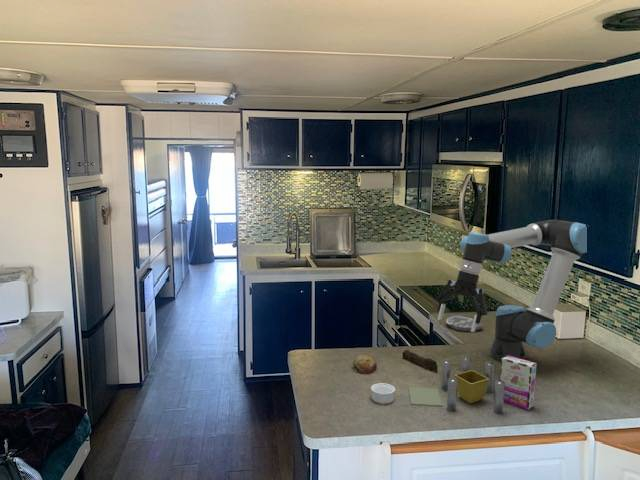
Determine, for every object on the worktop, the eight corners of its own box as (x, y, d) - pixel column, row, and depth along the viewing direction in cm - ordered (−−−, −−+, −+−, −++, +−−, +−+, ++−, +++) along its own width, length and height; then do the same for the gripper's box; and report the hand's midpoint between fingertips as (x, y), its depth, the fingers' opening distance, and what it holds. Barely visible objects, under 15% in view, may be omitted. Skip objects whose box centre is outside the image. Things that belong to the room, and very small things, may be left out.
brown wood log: (401, 359, 225) (401, 349, 224) (408, 357, 227) (408, 347, 226) (432, 374, 209) (432, 364, 208) (439, 372, 211) (439, 362, 210)
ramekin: (369, 393, 192) (370, 382, 191) (393, 393, 192) (393, 383, 191) (371, 404, 183) (371, 393, 182) (396, 405, 183) (396, 394, 182)
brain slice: (436, 325, 269) (437, 319, 268) (459, 319, 278) (459, 314, 278) (465, 336, 253) (466, 330, 252) (488, 330, 262) (488, 324, 261)
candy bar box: (534, 406, 182) (537, 362, 180) (528, 411, 179) (531, 367, 176) (504, 395, 190) (507, 354, 187) (498, 400, 187) (501, 357, 184)
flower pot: (469, 407, 181) (471, 383, 180) (452, 397, 189) (454, 374, 187) (488, 402, 185) (489, 378, 184) (470, 392, 193) (472, 369, 191)
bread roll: (350, 376, 215) (345, 362, 212) (364, 359, 221) (359, 346, 217) (369, 383, 209) (364, 369, 205) (383, 366, 215) (378, 352, 211)
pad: (437, 389, 195) (437, 388, 195) (442, 406, 182) (442, 405, 182) (408, 388, 196) (408, 387, 196) (411, 404, 183) (411, 403, 183)
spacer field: (488, 384, 200) (490, 357, 198) (503, 414, 177) (505, 384, 175) (439, 381, 201) (440, 355, 200) (447, 411, 179) (448, 381, 177)
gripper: (435, 263, 199) (422, 315, 200) (498, 280, 184) (484, 337, 186) (443, 264, 205) (430, 314, 206) (504, 281, 190) (490, 335, 192)
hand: (455, 325), depth 196 cm, fingers open, 13 cm apart
